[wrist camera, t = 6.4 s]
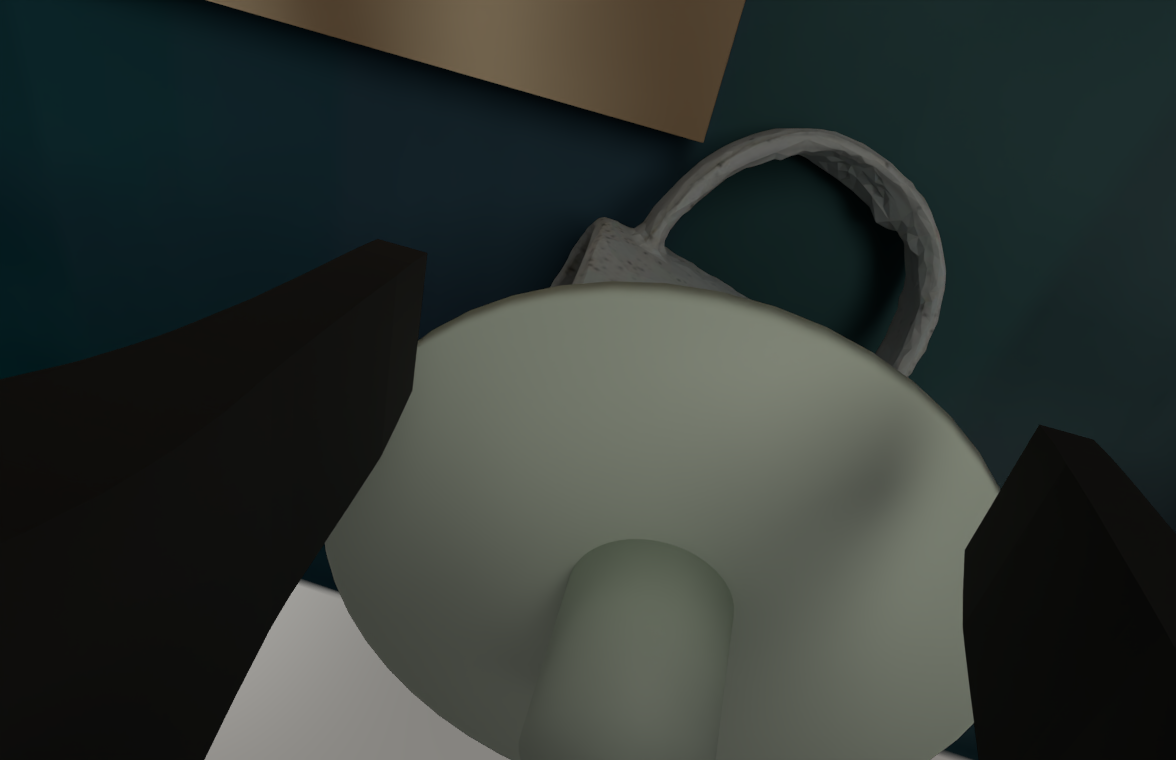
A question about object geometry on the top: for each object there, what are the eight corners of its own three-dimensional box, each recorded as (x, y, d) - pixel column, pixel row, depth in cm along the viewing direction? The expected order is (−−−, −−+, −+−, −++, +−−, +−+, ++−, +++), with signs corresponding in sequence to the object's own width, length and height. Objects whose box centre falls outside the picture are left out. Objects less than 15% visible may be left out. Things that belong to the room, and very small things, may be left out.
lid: (1154, 383, 13) (1238, 586, 10) (893, 848, 20) (900, 1050, 17) (322, 206, 15) (187, 344, 12) (341, 702, 21) (259, 868, 18)
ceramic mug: (769, 543, 27) (747, 805, 20) (488, 402, 26) (376, 627, 20) (1042, 220, 20) (1132, 453, 14) (683, 24, 20) (612, 177, 14)
